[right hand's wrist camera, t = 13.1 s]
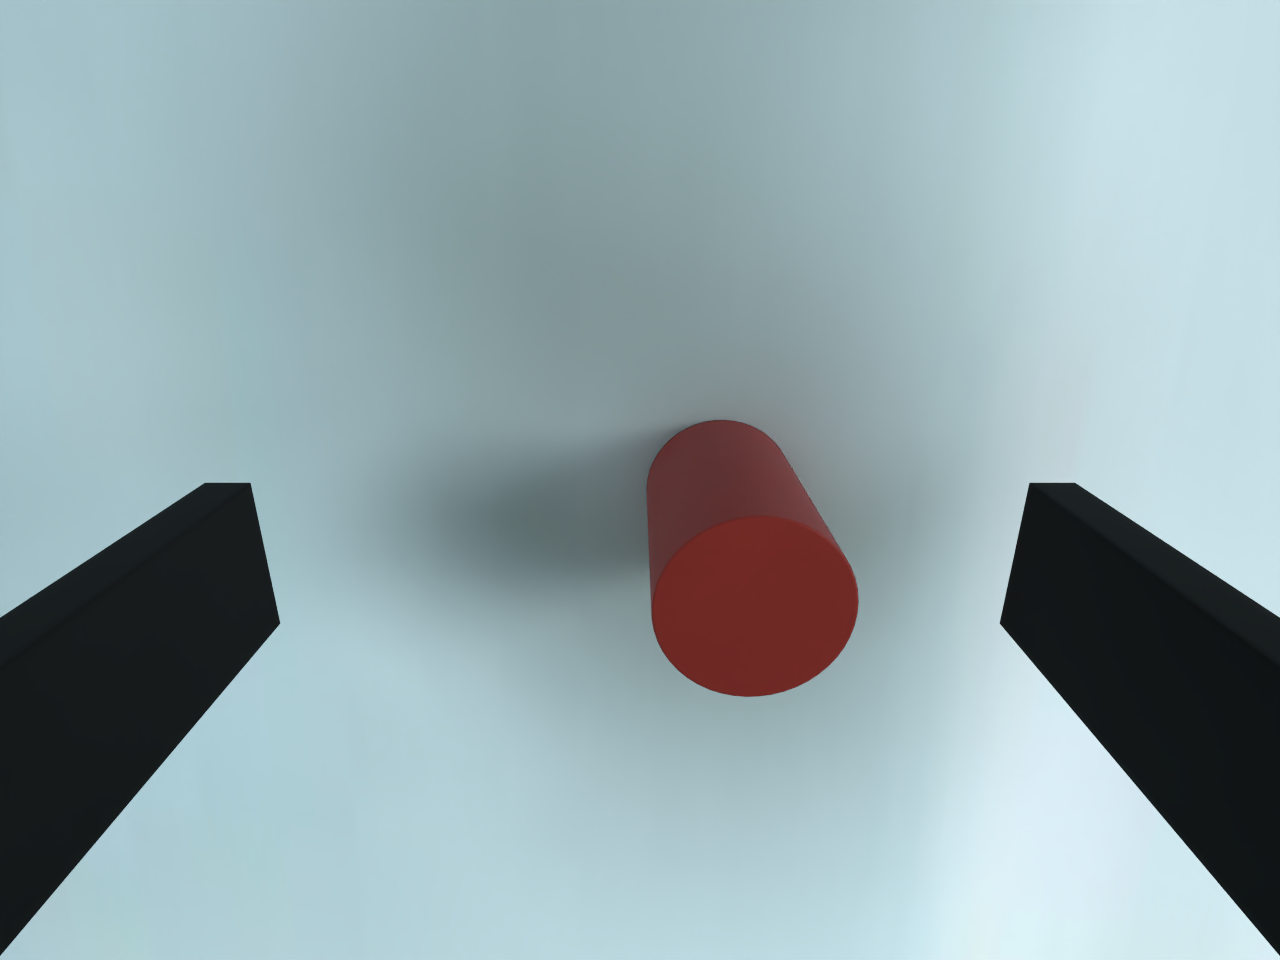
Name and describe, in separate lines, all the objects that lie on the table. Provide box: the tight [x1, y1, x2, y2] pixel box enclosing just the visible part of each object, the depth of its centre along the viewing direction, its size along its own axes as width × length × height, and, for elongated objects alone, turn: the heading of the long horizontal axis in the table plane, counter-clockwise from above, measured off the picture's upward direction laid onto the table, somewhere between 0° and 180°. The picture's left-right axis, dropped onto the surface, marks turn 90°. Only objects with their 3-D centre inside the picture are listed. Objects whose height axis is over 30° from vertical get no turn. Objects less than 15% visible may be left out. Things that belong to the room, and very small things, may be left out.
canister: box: [647, 420, 859, 697], centre depth 23 cm, size 6×6×9 cm
